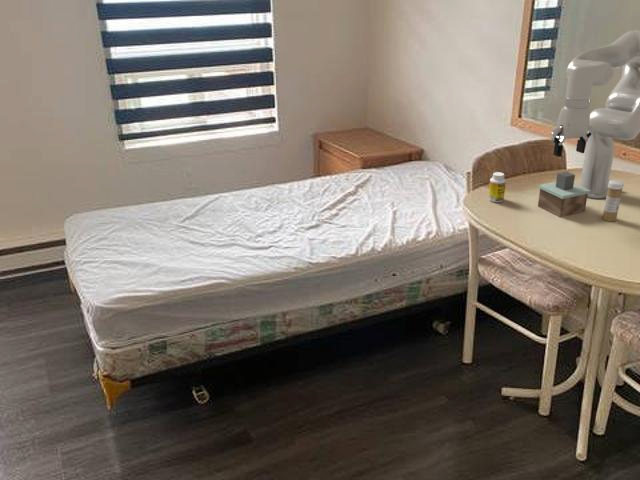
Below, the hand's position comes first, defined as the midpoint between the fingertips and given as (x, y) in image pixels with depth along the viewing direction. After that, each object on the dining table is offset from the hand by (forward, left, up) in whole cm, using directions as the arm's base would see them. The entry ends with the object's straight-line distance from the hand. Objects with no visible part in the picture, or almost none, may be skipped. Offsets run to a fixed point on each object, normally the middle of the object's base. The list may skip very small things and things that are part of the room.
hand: (568, 154), depth 200 cm
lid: (0, 0, -14) cm, 14 cm away
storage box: (0, 0, -20) cm, 20 cm away
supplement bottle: (+15, -17, -21) cm, 30 cm away
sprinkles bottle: (-8, +14, -21) cm, 26 cm away
